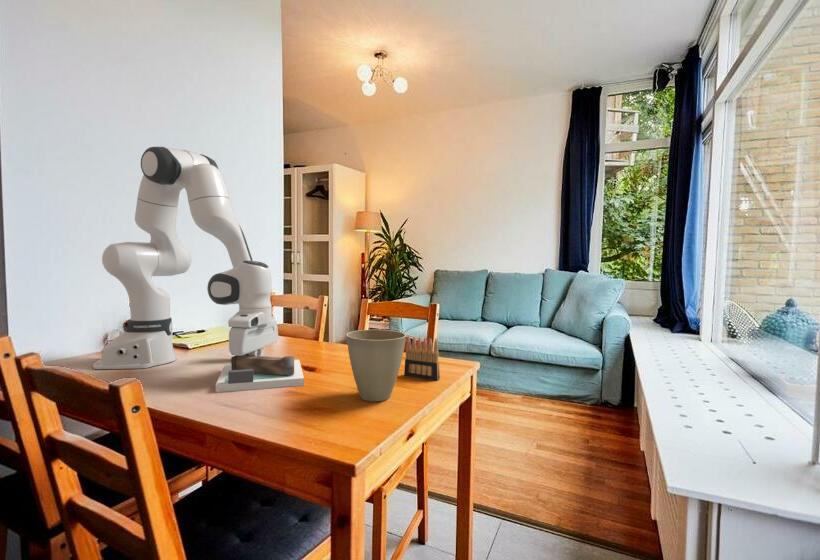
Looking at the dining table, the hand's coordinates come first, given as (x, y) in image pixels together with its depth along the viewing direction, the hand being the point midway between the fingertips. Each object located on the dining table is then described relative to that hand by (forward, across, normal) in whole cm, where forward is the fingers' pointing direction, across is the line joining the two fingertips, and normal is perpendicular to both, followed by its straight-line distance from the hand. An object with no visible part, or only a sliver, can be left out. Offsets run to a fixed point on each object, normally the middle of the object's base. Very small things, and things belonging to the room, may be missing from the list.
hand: (255, 364), depth 122 cm
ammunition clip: (+4, -10, +47) cm, 49 cm away
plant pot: (+4, +10, +39) cm, 40 cm away
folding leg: (+1, +3, +4) cm, 6 cm away
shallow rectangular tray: (+4, +1, +2) cm, 4 cm away
